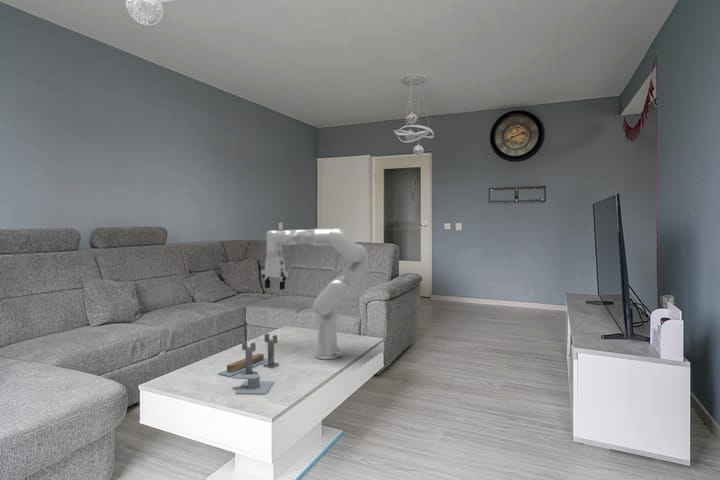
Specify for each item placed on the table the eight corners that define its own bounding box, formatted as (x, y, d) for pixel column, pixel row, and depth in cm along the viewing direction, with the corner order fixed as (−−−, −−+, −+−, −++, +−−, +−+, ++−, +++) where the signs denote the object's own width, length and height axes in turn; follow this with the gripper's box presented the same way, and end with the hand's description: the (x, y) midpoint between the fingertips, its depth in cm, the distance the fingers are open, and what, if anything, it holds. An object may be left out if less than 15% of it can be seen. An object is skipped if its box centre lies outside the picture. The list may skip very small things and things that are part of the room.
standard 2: (279, 365, 194) (279, 334, 194) (272, 368, 190) (272, 337, 189) (269, 363, 197) (269, 332, 197) (262, 366, 193) (262, 335, 192)
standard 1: (258, 374, 182) (257, 341, 182) (250, 378, 178) (249, 344, 177) (248, 372, 185) (247, 340, 185) (239, 375, 181) (239, 342, 180)
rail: (263, 360, 200) (263, 354, 200) (231, 373, 183) (231, 366, 183) (259, 359, 201) (258, 353, 201) (227, 371, 184) (226, 365, 184)
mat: (271, 360, 202) (271, 359, 202) (229, 377, 179) (229, 376, 179) (260, 358, 205) (260, 356, 205) (218, 374, 183) (218, 373, 183)
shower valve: (238, 370, 174) (274, 370, 173) (238, 383, 174) (274, 383, 173) (227, 381, 161) (265, 381, 160) (227, 395, 161) (266, 395, 161)
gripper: (292, 254, 209) (293, 288, 210) (266, 253, 218) (267, 286, 218) (282, 255, 203) (283, 290, 203) (256, 254, 211) (256, 288, 212)
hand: (274, 288), depth 211 cm, fingers open, 9 cm apart
